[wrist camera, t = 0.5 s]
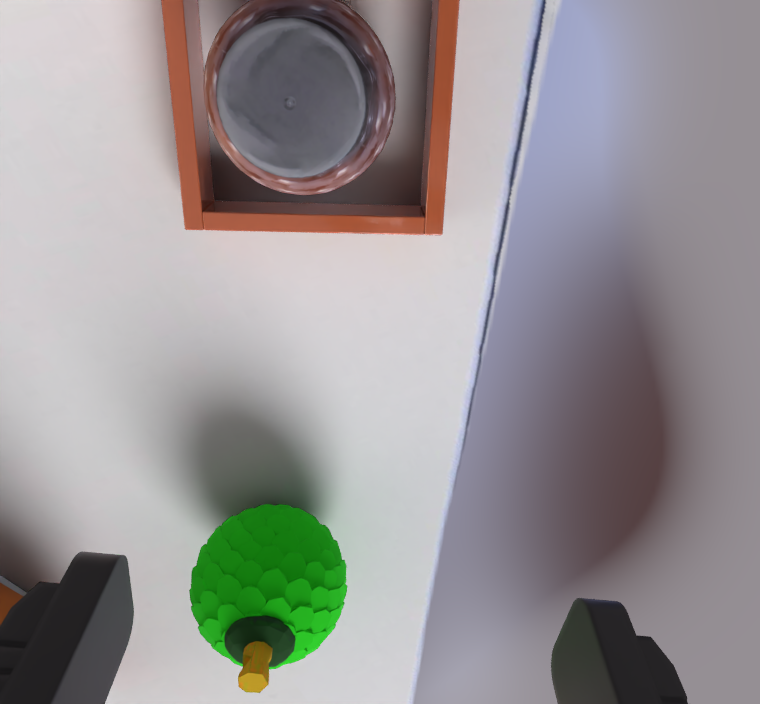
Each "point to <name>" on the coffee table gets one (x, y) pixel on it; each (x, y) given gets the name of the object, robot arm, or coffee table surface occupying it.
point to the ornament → (268, 589)
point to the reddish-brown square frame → (289, 215)
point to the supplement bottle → (299, 94)
